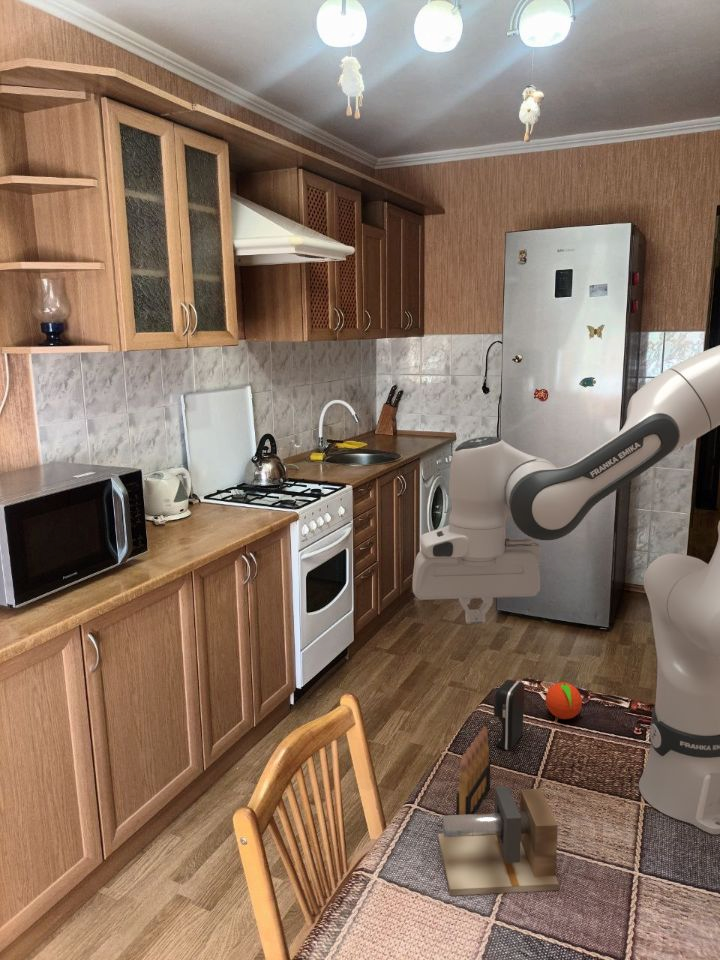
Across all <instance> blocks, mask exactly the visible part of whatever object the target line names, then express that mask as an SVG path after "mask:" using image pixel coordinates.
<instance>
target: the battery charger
mask: <svg viewBox="0 0 720 960" xmlns="http://www.w3.org/2000/svg"><path fill="white" fill-rule="evenodd" d="M524 705H525V684H524V683H523V682H521V681H520V680H514V679H513V680H512V679H506V680H504V682H502V684H501V685H500V686H499V687H498V688H497V690H496V691H495V694H494V700H493V715H494V716H495V717H496V718H499V721H500V723H501V725H502V729H501V731H502V733H501V735H500V736H499V737H498V739H497V740H496V745H497V746H498V747H499V748H501V749H503V750H506V751H512V750H513V748H514V747H515V745H516V744H517V743H518V741H519V739H521V737H522V736H523V733H524V732H523V731H524V729H523V728H524V711H525V710H524V708H525V706H524Z"/></svg>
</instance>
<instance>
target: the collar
mask: <svg viewBox="0 0 720 960" xmlns="http://www.w3.org/2000/svg"><path fill="white" fill-rule="evenodd" d="M493 811H494V812H493V813H501V814H502V817H503V820H504V835H496V836H497V839H498V842H499V845H500V848H501V851H502V854H503V857H504V860H505V863H517V862H520V842H521V816H520V813H519V812H520V810H519V808H518V806H517V804H516V801H515V798H514V796H513V794H512V792H511V789H510V786H508V785H504V786H503V785H502V786H501V785H500V786H495V787H494V810H493Z"/></svg>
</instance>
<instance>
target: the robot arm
mask: <svg viewBox="0 0 720 960" xmlns="http://www.w3.org/2000/svg"><path fill="white" fill-rule="evenodd" d="M718 426H720V344H719V345H716V346H715V347H712V348H709V349H706V350H704V351H701V352H698V353H697V354H695V355H693V356H690V357H688V358H687V359H684V360H683V361H680V362H678V363H675V365H673V366H671V367H670V368H668V369H666V370H665V371H663V372H661V373H660V374H657V375H656V376H655V377H652V379H650V380H649V381H648V382H646V383H645V384H644V385H643V386H641V388H639V389H638V390H637V391H636V392H634V393H633V394H632V396H631V397H630V399H629V401H628V405H627V410H626V420H625V423H624V425H623V427H622V428H621V429H620V430H619V432H617V433H616V434H615V435H614V436H613V437H612V438H610V439H608V440H607V441H605V442H604V443H602V444H601V445H599V446H597V447H596V448H594V449H593V450H592V451H590V452H588V453H587V454H586V455H583V456H582V457H581V458H580V459H578V460H576V461H575V462H573V463H572V464H570V465H567V466H563V467H558V466H556V465H555V464H554V463H552V461H551V462H550V461H549V460H547V459H546V458H543V457H538V456H535V455H531V454H529V453H525V452H524V451H522V450H519V449H517V448H515V447H514V446H512V445H510V444H509V443H507V442H505V440H503V439H502V438H501V437H497V436H481V437H475V438H471V439H468V440H465V441H462V442H460V443H459V445H457V447H456V448H454V451H453V453H452V457H451V462H450V467H449V469H450V470H449V482H448V483H449V485H448V487H449V489H448V490H449V491H448V492H449V493H448V494H449V495H448V497H449V499H450V504H451V511H450V514H449V517H448V525H446V526H443V527H440V528H437V529H435V530H431V531H428V532H426V533H425V532H424V533H423V534H421V536H420V538H419V539H420V548H421V550H420V551H419V552H418V553H417V555H416V557H415V560H414V565H413V571H412V572H413V573H412V592H413V595H414V596H415V597H416V598H417V599H418V600H420V601H424V600H425V601H426V600H427V601H428V600H429V601H430V600H451V599H452V600H453V599H454V600H456V599H457V600H458V601H459V603H460V605H461V607H462V609H463V610H464V613H465V616H464V617H465V622H466V624H467V625H468V624H486V614H487V613H488V612H489V610H490V608H491V606H493V601H494V599H493V598H523V597H536V596H537V595H538V594H539V592H540V591H541V574H540V567H539V563H540V562H541V560H542V546H541V544H540V543H539V542H538V541H535V540H539V541H555V540H557V539H558V540H559V539H561V538H564V537H565V536H567V535H569V534H570V533H572V532H573V531H575V529H576V528H577V527H578V526H579V525H580V524H581V522H582V521H583V520H584V518H585V517H586V516H587V514H588V513H589V512H590V511H591V510H592V508H594V507H595V505H597V504H598V503H599V502H601V501H602V500H603V499H604V498H606V497H608V496H610V494H612V493H614V492H616V491H617V490H618V489H620V488H622V487H623V486H625V485H626V484H627V483H629V482H630V481H633V480H634V479H635V478H637V477H638V476H640V475H641V474H642V473H645V472H646V471H647V470H648V469H650V468H651V467H653V466H655V465H657V463H659V462H660V461H661V460H662V459H664V458H665V457H667V456H669V455H670V454H672V453H673V452H675V451H676V450H678V449H680V448H682V447H684V446H685V445H687V444H689V443H691V442H694V441H695V440H696V439H698V438H700V437H702V436H703V435H705V434H707V433H708V432H710V431H712V430H715V428H717V427H718ZM509 518H512V520H513V522H514V524H515V526H516V527H517V528H518V530H520V531H521V532H522V533H523V534H524V535H526V536H528V537H527V538H506V529H507V528H506V523H507V521H506V520H507V519H509ZM717 533H718V538H717V543H716V546H715V548H714V551H713V554H712V557H711V558H710V561H709V562H708V563H707V562H705V561H703V560H702V559H700V558H698V557H695V556H691V555H687V554H682V553H681V554H680V553H677V552H676V553H675V552H674V553H666V554H663V555H661V556H658V557H657V558H655V559H654V560H653V561H652V562H651V563H650V564H649V565H648V567H647V569H646V570H645V573H644V576H643V588H644V591H645V594H646V596H647V600H648V602H649V608H650V613H651V614H650V615H651V622H652V630H653V637H654V643H655V644H654V646H655V650H656V661H657V677H656V694H655V705H654V706H653V708H652V711H651V721H650V729H649V730H650V731H649V739H650V741H649V743H650V747H649V752H648V756H647V759H646V764H645V767H644V770H643V773H642V774H641V776H640V779H639V780H638V790H639V793H640V794H641V796H642V797H643V799H644V800H645V801H646V802H647V803H648V804H649V805H651V806H652V807H653V808H654V809H656V810H657V811H659V812H661V813H662V814H664V815H666V816H668V817H671V818H673V819H675V820H678V821H682V822H685V823H688V824H691V825H694V826H695V827H696V828H699V829H700V830H702V831H704V832H706V833H708V834H710V835H720V520H719V521H718V525H717ZM529 537H530V538H529ZM533 539H535V540H533ZM471 599H481V600H482V603H481V605H480V607H479V608H478V609H477V608H476V609H469V606H468V605H470V604H471Z"/></svg>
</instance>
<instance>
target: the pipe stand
mask: <svg viewBox="0 0 720 960" xmlns="http://www.w3.org/2000/svg"><path fill="white" fill-rule="evenodd" d="M519 795H520V800H519V812H527V813H528V816H529V820H530V833H529V834H521V842H520V862H517V863H505V860H504V857H503V854H502V851H501V848H500V845H499V842H498V839H497V836H496V835H487V836H466V837H444V833H437V842H438V848H439V851H440V855H441V860H442V864H443V865H442V866H443V869H444V874H445V878H446V883H447V886H448V888H447V889H448V892H449V896H450V897H451V896H468V895H469V896H470V895H472V896H473V895H486V894H487V895H489V894H491V895H492V894H508V893H509V894H510V893H526V892H527V893H528V892H545V891H547V892H548V891H549V892H550V891H559V889H560V883H559V881H558V879H557V876H556V875H557V874H556V872H557V871H556V870H557V850H558V830H559V829H558V828H559V824H558V823H557V820H556V818H555V816H554V814H553V812H552V810H551V807H550V805H549V803H548V801H547V799H546V797H545V794H544V792H543V791H542V788H525V789H524V788H521V789H520V794H519Z"/></svg>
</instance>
